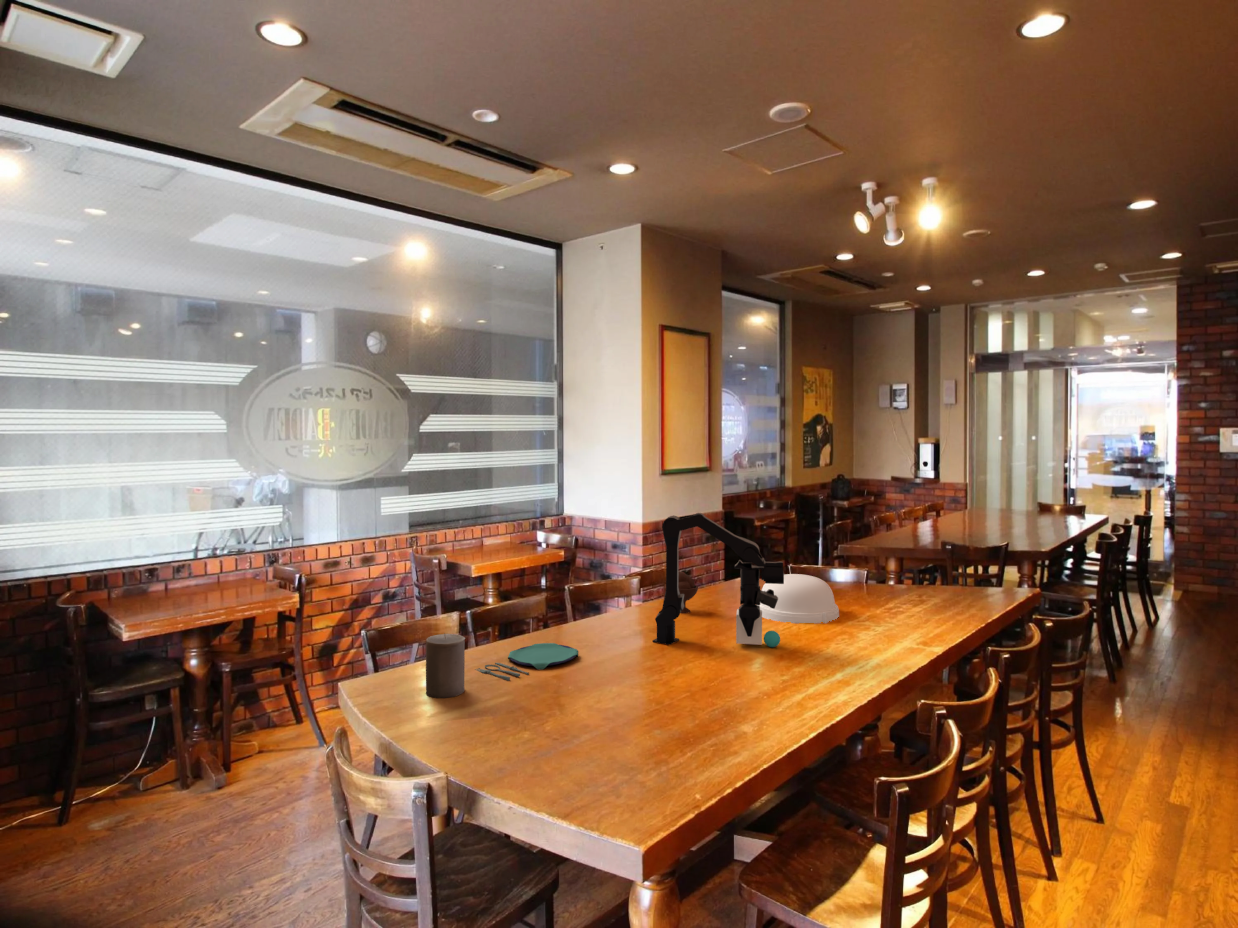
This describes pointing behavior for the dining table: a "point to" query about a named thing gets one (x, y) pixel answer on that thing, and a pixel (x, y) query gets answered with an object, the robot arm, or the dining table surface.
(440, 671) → the pillar candle
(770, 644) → the ball
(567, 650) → the cutlery set
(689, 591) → the ice cream bowl
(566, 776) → the dining table surface
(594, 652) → the dining table surface
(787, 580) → the dome cover
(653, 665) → the dining table surface
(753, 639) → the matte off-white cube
